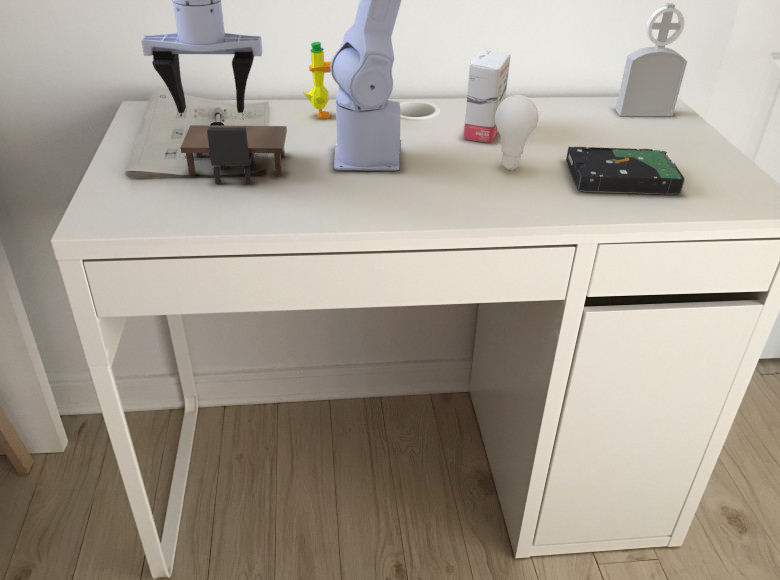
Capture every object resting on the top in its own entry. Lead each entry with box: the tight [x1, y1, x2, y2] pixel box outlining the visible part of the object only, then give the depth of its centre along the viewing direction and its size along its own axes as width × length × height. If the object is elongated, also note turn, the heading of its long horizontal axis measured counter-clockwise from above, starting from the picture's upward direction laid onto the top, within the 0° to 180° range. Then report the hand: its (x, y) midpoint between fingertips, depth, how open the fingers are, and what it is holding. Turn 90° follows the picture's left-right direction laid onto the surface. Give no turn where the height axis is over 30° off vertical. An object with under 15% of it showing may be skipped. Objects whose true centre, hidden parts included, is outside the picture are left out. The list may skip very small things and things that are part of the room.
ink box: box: [463, 49, 511, 144], centre depth 114 cm, size 9×5×12 cm, turn 161°
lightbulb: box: [495, 94, 539, 171], centre depth 104 cm, size 6×6×11 cm
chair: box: [207, 127, 256, 185], centre depth 100 cm, size 5×6×8 cm
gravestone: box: [615, 2, 688, 117], centre depth 121 cm, size 3×9×18 cm, turn 94°
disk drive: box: [565, 146, 686, 195], centre depth 105 cm, size 10×3×15 cm
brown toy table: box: [179, 124, 288, 177], centre depth 104 cm, size 14×8×4 cm, turn 93°
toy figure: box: [303, 41, 331, 120], centre depth 117 cm, size 7×4×12 cm, turn 105°
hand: (211, 110), depth 96 cm, fingers open, 7 cm apart
